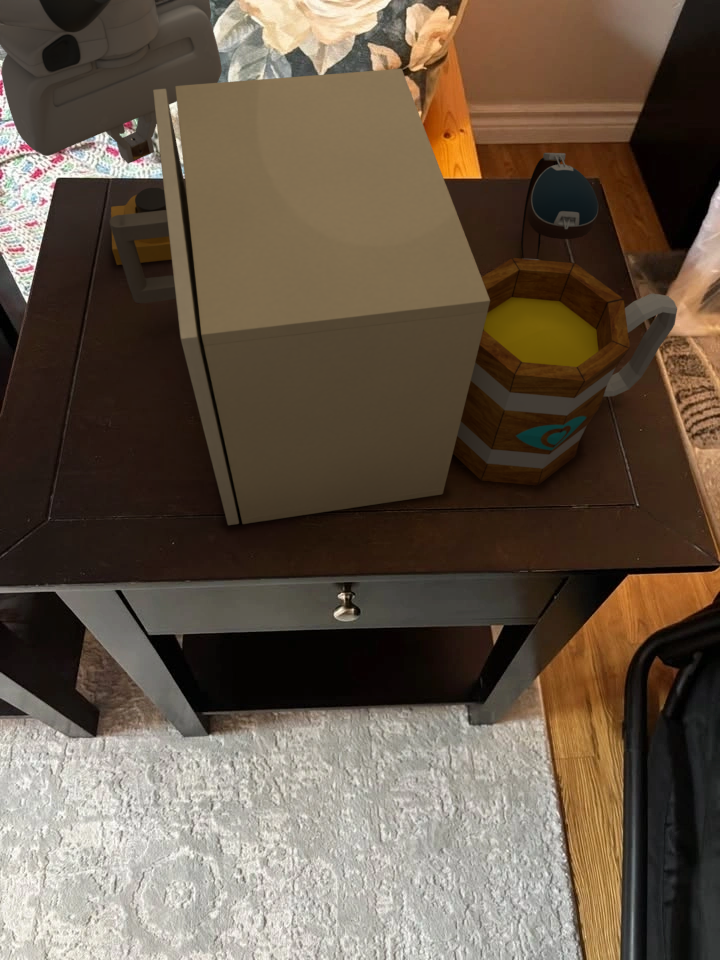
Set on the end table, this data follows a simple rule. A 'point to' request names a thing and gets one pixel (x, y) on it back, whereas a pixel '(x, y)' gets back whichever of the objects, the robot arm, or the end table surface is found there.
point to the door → (177, 289)
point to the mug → (549, 366)
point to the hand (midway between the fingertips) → (137, 155)
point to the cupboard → (328, 289)
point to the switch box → (145, 247)
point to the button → (150, 200)
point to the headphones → (556, 204)
